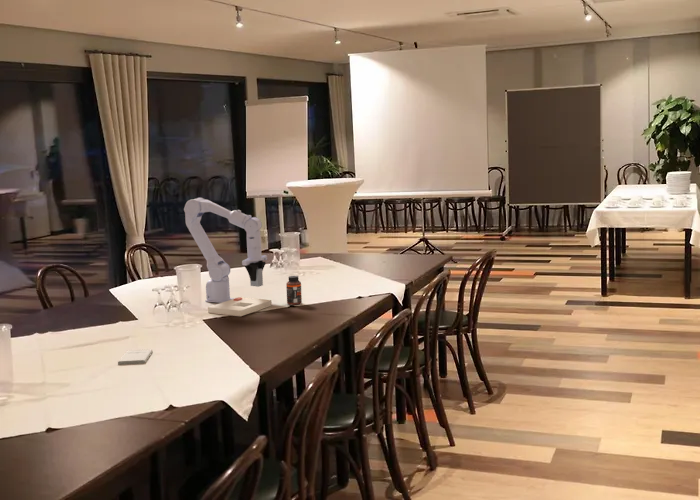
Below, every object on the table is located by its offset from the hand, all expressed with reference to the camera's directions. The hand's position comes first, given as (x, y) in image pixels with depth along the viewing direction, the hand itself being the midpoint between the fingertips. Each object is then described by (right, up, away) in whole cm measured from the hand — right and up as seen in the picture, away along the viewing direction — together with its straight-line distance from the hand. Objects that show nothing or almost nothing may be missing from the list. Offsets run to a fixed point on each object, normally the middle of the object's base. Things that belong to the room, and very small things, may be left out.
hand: (255, 280), depth 318 cm
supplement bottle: (+16, -10, -6) cm, 20 cm away
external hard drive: (-28, -22, -76) cm, 84 cm away
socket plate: (-5, -11, -12) cm, 17 cm away
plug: (0, -2, 0) cm, 2 cm away
